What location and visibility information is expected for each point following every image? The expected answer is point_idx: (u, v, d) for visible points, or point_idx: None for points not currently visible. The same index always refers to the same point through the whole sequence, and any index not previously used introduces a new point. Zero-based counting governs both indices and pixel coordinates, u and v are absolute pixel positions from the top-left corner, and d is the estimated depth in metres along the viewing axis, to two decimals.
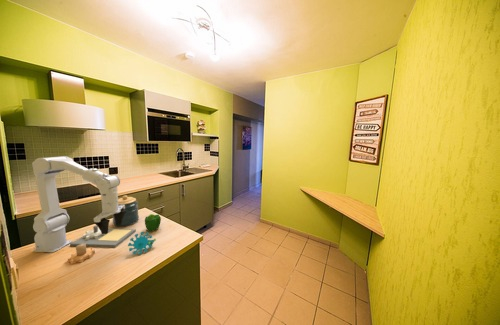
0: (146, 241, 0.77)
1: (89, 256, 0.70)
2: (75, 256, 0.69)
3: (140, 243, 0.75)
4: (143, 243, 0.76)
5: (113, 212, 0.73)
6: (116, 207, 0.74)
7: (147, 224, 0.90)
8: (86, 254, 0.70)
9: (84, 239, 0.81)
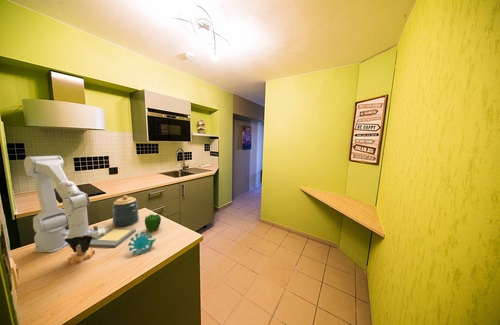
0: (146, 241, 0.77)
1: (89, 256, 0.70)
2: (75, 256, 0.69)
3: (140, 243, 0.75)
4: (143, 243, 0.76)
5: (69, 235, 0.67)
6: (71, 231, 0.66)
7: (147, 224, 0.90)
8: (86, 254, 0.70)
9: None
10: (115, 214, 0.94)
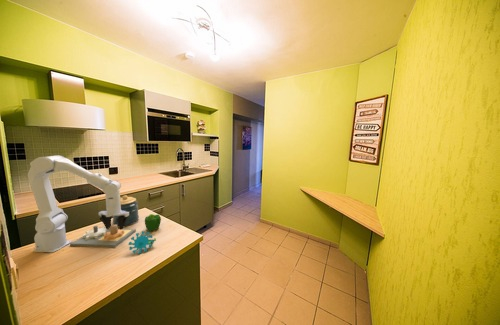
0: (146, 240, 0.77)
1: (120, 235, 0.84)
2: (109, 234, 0.83)
3: (140, 242, 0.76)
4: (143, 242, 0.76)
5: (107, 214, 0.81)
6: (109, 211, 0.81)
7: (147, 224, 0.90)
8: (118, 233, 0.84)
9: (84, 239, 0.81)
10: None
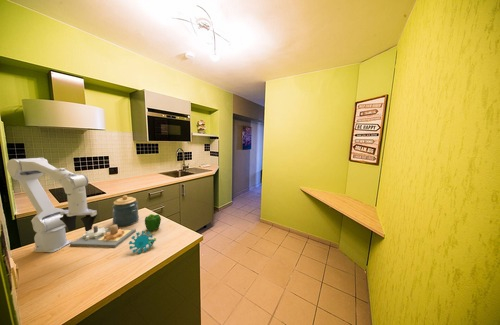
0: (146, 240, 0.78)
1: (120, 235, 0.84)
2: (109, 234, 0.83)
3: (140, 242, 0.76)
4: (143, 242, 0.77)
5: (69, 213, 0.70)
6: (71, 210, 0.69)
7: (147, 224, 0.90)
8: (118, 233, 0.84)
9: (84, 239, 0.81)
10: (115, 214, 0.94)
